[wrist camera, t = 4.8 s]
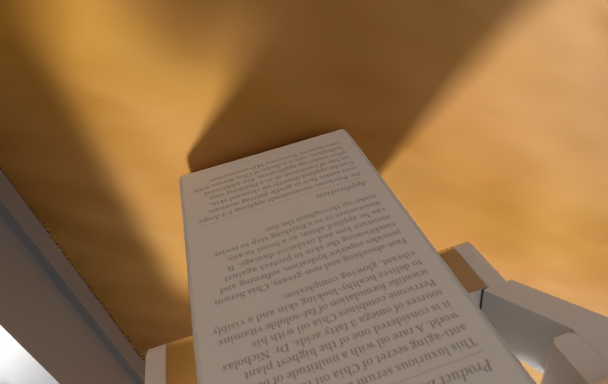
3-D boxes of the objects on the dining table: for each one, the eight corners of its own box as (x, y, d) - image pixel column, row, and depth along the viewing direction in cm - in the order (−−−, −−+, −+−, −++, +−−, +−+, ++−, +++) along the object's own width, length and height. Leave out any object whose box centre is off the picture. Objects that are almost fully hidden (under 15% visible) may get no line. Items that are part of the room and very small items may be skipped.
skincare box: (214, 257, 17) (283, 735, 7) (176, 172, 14) (212, 754, 5) (358, 212, 17) (586, 598, 8) (349, 122, 15) (674, 547, 5)
